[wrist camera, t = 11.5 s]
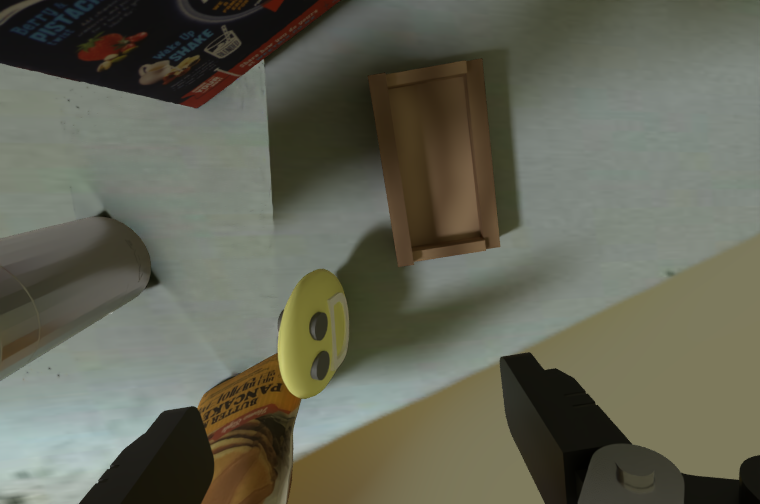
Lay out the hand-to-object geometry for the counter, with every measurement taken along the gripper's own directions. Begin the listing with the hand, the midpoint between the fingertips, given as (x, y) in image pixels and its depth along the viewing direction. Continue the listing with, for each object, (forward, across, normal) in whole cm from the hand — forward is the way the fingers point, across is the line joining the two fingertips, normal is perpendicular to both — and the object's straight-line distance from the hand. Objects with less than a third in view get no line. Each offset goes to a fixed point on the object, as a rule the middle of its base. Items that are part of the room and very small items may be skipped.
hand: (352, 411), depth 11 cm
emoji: (+33, +4, +10) cm, 34 cm away
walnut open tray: (+32, -7, -4) cm, 34 cm away
